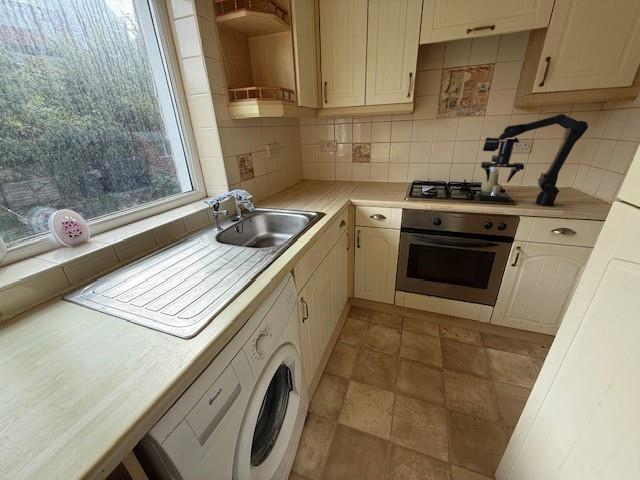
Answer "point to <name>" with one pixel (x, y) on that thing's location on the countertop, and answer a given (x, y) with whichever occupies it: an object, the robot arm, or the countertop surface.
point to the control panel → (494, 197)
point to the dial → (495, 189)
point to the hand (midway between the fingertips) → (497, 181)
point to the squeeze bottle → (490, 180)
